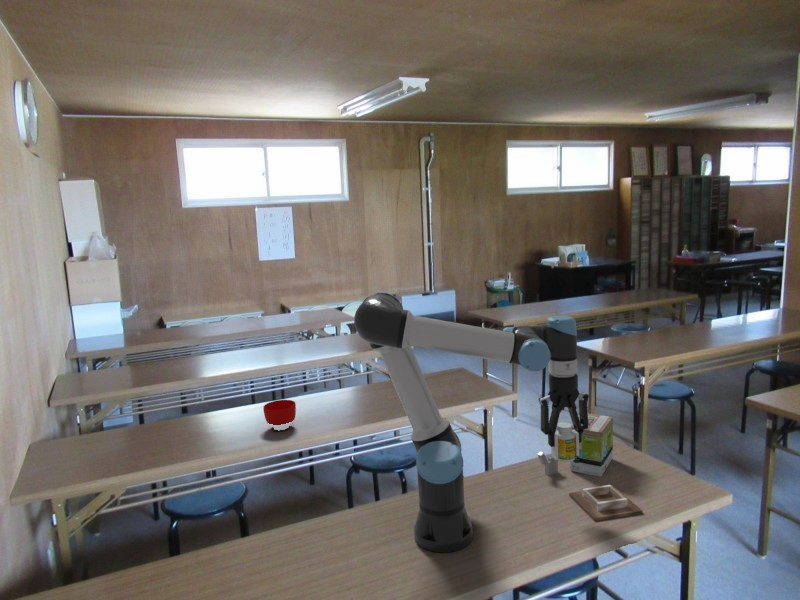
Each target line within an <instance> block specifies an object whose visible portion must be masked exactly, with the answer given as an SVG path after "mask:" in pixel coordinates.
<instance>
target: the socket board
mask: <svg viewBox="0 0 800 600" xmlns="http://www.w3.org/2000/svg"><path fill="white" fill-rule="evenodd" d="M568 496H569V497H570V498H571V499H572V500H573V501H574V502H575V503H576V504H577V505H578V506H579V507H580V508H581V509H582V511H584V513H585V514H587V516H589V517H590V518H591V520H592V521H593V522H596V521H601V520H602V521H603V520H609V519H615V518H620V517H627V516H634V515H639V514H643V513H644V512H643V509H642V508H640V507H639V506H638V505H637V504H635V503H634V502H633V501H632V500H631V499H630V498H628V497H627V496H626V495H625V494H624V493H622V492H621V491H620V490H619V489H617V488H616V486H613V485H612V484H607V485H600V486H593V487H587V488H582V490H580V491H574V492H573V491H572V492H569V493H568Z"/></svg>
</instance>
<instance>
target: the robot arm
mask: <svg viewBox="0 0 800 600" xmlns="http://www.w3.org/2000/svg"><path fill="white" fill-rule="evenodd" d="M353 318H354V319H353V325H354V328H355V331H356V332H357V334H358V335H359V336H360V338H362V339H363V340H364V341H365V342H367V343H368V344H369V346H370V347H371V349H372V351H376V353H377V352H378V353H379V354H380V357H381V358H382V361H383V364H384V366H385V368H386V370H387V373H388V375H389V377H390V380H391V382H392V384H393V386H394V388H395V392H396V393H397V396H398V397H399V400H400V402H401V405H402V408H403V410H404V412H405V414H406V416H407V418H408V421H409V423H410V425H411V426H410V427H411V428H412V432H411V435H410V439H411V441H412V444H413V446H414V448H415V451H416V460H415V467H416V470H417V471H416V472H417V486H418V487H417V489H418V505H419V509H418V512H417V516H416V519H415V523H414V526H413V527H414V528H413V534H414V540H415V542H416V544H417V545H419V547H421V548H423V549H424V550H427V551H430V552H435V553H452V552H457V551H459V550H462V549H464V548H465V547H467V546H468V545H470V543H471V541H472V540H473V537H474V536H473V535H474V533H473V525H472V522H471V519H470V517H469V514H468V512H467V510H466V507H465V487H464V485H465V484H464V483H465V482H464V458H463V457H464V456H463V454H462V443H461V440H460V438H459V436H458V435H457V433H456V432H455V431H454V430H453V427H452V425H451V423H450V421H449V419H447V418H445V417H442V415H441V413H440V411H439V408H438V406H437V404H436V401H435V399H434V397H433V394H432V392H431V390H430V387H429V385H428V382H427V381H426V378H425V376H424V373H423V371H422V368H421V367H420V364H419V362H418V360H417V357H416V355H415V352H414V351H413V350H414V349H413V347H415V348H420V349H427V350H432V351H437V352H445V353H449V354H450V353H451V354H455V355H461V356H467V357H471V358H472V357H473V358H479V359H484V360H489V361H493V362H494V361H496V362H501V363H507V364H512V365H517V366H521V367H523V368H524V369H525V370H527V371H530V372H540V371H542V370H544V369H545V368H546V367H547V366H548V370H547V371H548V373H549V374H548V389H549V391H548V394H547V395H546V396H544V397H542V396H540V397H538V402H539V404H540V431H541V432H542V433H543V434H544V435H546V436H547V444H548V445H549V446H550V448H551V450H550V451H551V456H553V457H554V458H555V459H558V436H557V435H556V434H555V432H556V431H557V424H558V423H559V419H560V414H561V412H562V410H563V409H565V408H567V409H568V413H569V416H570V419H571V422H572V423H571V424H572V425H573V426H574V429H575V430H572V432H573V433H574V434H575V455H576V456H579V443H581V441H582V433H583V432H584V429H588V414H589V412H588V401H589V397H590V396H589V394H587V393H586V392H585V391H581V392H580V391H579V389H578V387H579V375H578V374H577V373H578V371H579V370H578V369H579V368H578V331H577V330H578V329H577V321H576V319H575V318H574V317H572V316H569V315H555V316H553V315H552V316H550V317H548V318H547V319H546V323H545V324H543V325H542V324H541V325H527V326H516V325H515V326H511V327H510V326H509V327H505V328H503V329H502V330H497V329H494V328H489V327H482V326H476V325H475V326H474V325H470V324H464V323H458V322H454V321H446V320H441V319H435V318H431V317H424V316H418V315H414V314H413V313H412V311H411V310H409V309H404V307H403V305H402V302H401V301H400V300H399V299H398V297H396V296H395V295H393V294H391V293H389V292H382V291H380V292H379V291H378V292H376V293H373V294H371V295H368V296H367V297H365V298H364V300H363V301H362V303H361V304H360V305H359V306H357V309H356V311H355V313H354V317H353ZM577 400H578V411H577V405H576V401H577ZM550 402H551V403H552V404H551V413H550V407H549V405H550ZM578 412H579V413H578ZM579 417H580V420H579Z"/></svg>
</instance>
